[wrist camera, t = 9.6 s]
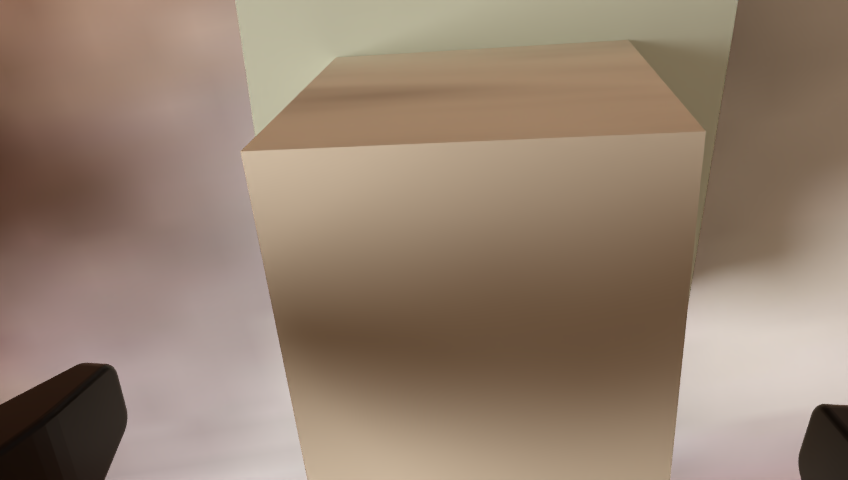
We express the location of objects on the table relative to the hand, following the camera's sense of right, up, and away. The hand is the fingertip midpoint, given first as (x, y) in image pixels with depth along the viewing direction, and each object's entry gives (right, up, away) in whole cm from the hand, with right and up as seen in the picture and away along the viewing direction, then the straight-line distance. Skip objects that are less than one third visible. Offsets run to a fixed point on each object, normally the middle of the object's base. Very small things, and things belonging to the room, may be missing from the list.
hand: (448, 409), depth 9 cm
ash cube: (+1, +3, +7) cm, 8 cm away
